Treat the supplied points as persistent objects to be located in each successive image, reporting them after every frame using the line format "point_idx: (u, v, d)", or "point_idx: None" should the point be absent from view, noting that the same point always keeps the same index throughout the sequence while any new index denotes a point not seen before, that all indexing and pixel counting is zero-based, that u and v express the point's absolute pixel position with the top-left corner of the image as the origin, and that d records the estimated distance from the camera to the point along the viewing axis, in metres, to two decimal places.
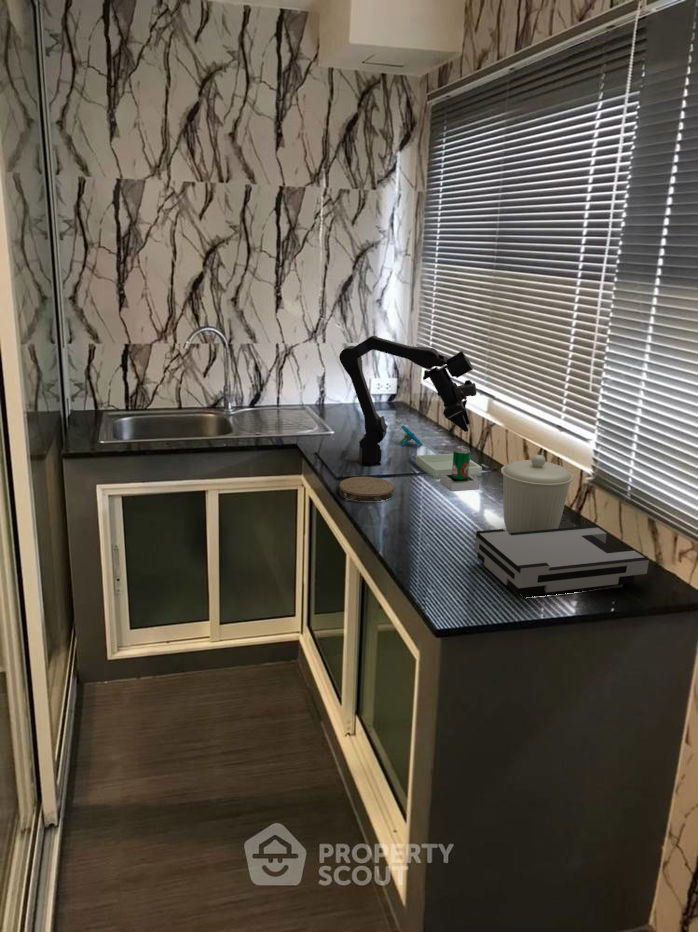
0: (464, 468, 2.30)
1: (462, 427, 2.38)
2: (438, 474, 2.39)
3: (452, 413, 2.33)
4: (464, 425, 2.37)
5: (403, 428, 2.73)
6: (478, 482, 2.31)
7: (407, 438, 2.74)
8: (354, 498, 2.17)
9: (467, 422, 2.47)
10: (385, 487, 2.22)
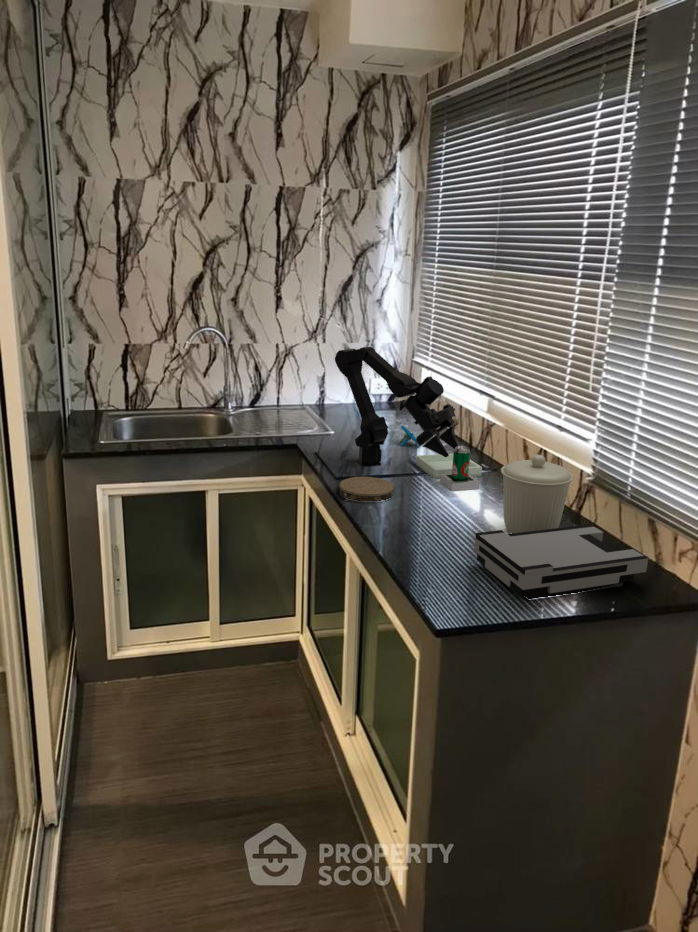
0: (464, 468, 2.30)
1: (441, 453, 2.29)
2: (438, 474, 2.39)
3: (424, 440, 2.26)
4: (443, 450, 2.28)
5: (402, 428, 2.73)
6: (478, 482, 2.31)
7: (406, 438, 2.74)
8: (354, 498, 2.17)
9: None
10: (385, 487, 2.22)
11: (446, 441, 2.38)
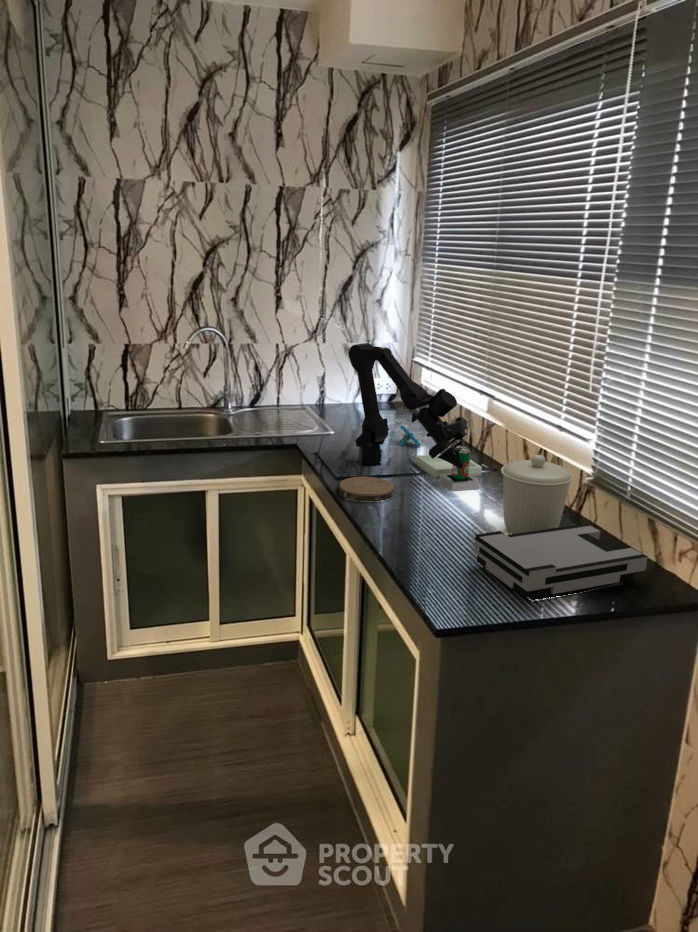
0: (464, 468, 2.30)
1: (456, 464, 2.30)
2: (438, 474, 2.39)
3: (436, 453, 2.25)
4: (457, 462, 2.29)
5: (402, 428, 2.73)
6: (478, 482, 2.31)
7: (406, 438, 2.74)
8: (354, 498, 2.17)
9: None
10: (385, 487, 2.22)
11: None
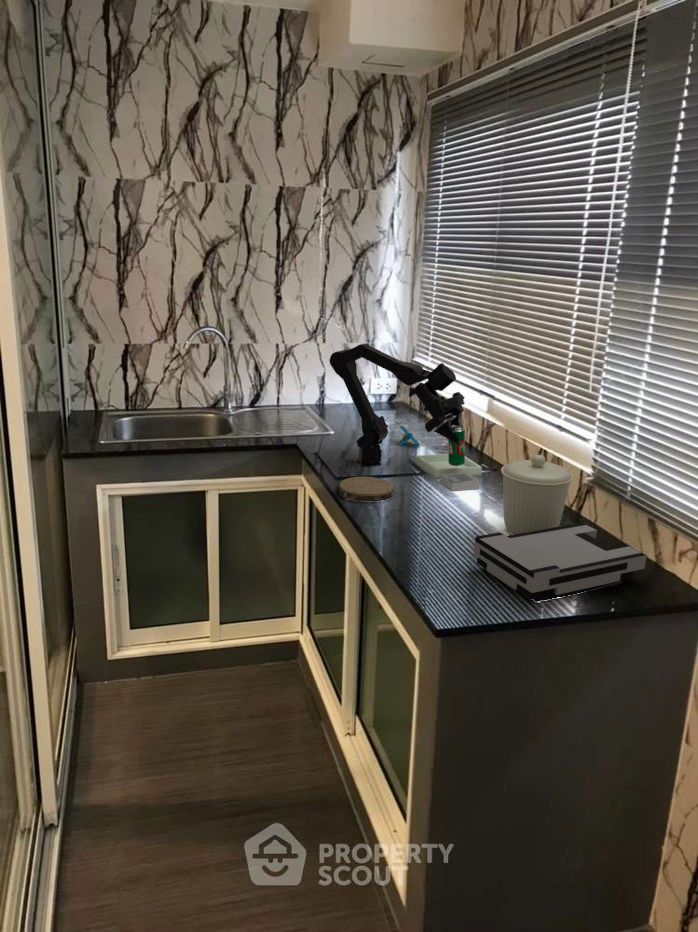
0: (459, 446, 2.34)
1: (452, 438, 2.33)
2: (438, 474, 2.39)
3: (432, 426, 2.29)
4: (453, 436, 2.33)
5: (401, 428, 2.73)
6: (478, 482, 2.31)
7: (405, 438, 2.74)
8: (354, 498, 2.17)
9: None
10: (385, 487, 2.22)
11: None
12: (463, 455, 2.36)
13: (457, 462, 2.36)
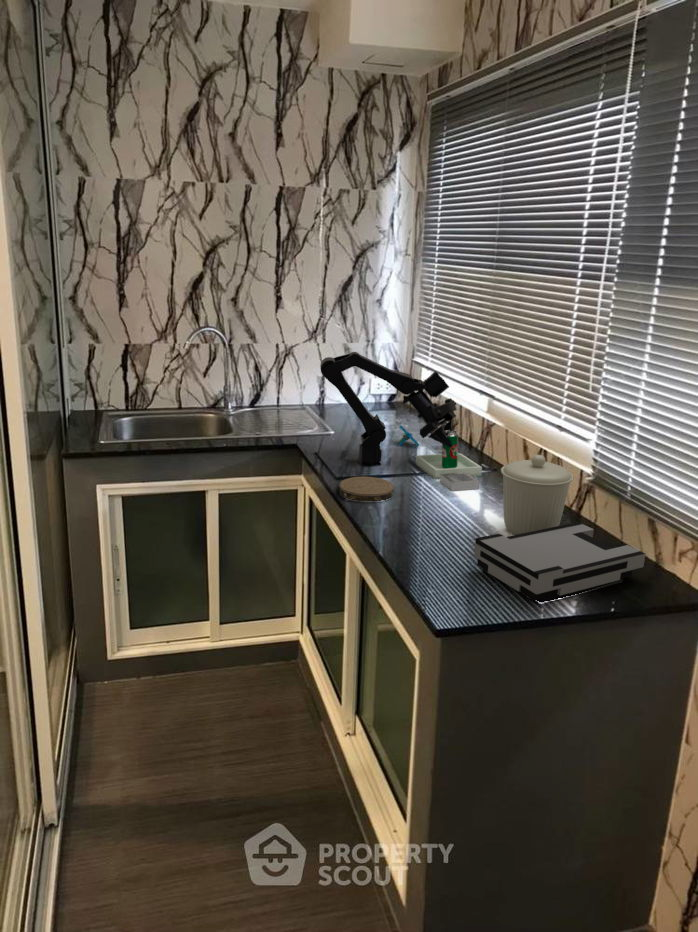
0: (452, 450, 2.45)
1: (445, 443, 2.43)
2: (438, 474, 2.39)
3: (427, 432, 2.39)
4: (447, 441, 2.43)
5: None
6: (478, 482, 2.31)
7: (404, 438, 2.74)
8: (354, 498, 2.17)
9: None
10: (385, 487, 2.22)
11: None
12: (456, 459, 2.46)
13: (450, 465, 2.46)
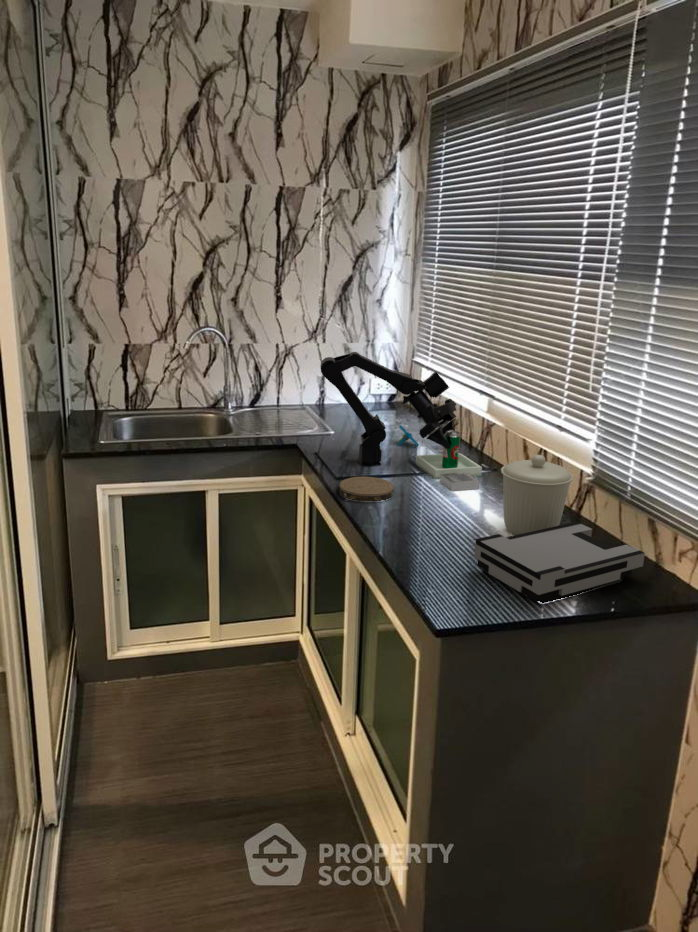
0: (453, 451, 2.44)
1: (444, 445, 2.42)
2: (438, 474, 2.39)
3: (427, 432, 2.39)
4: (445, 442, 2.42)
5: None
6: (478, 482, 2.31)
7: (404, 438, 2.74)
8: (354, 498, 2.17)
9: None
10: (385, 487, 2.22)
11: None
12: (457, 460, 2.46)
13: (450, 466, 2.46)
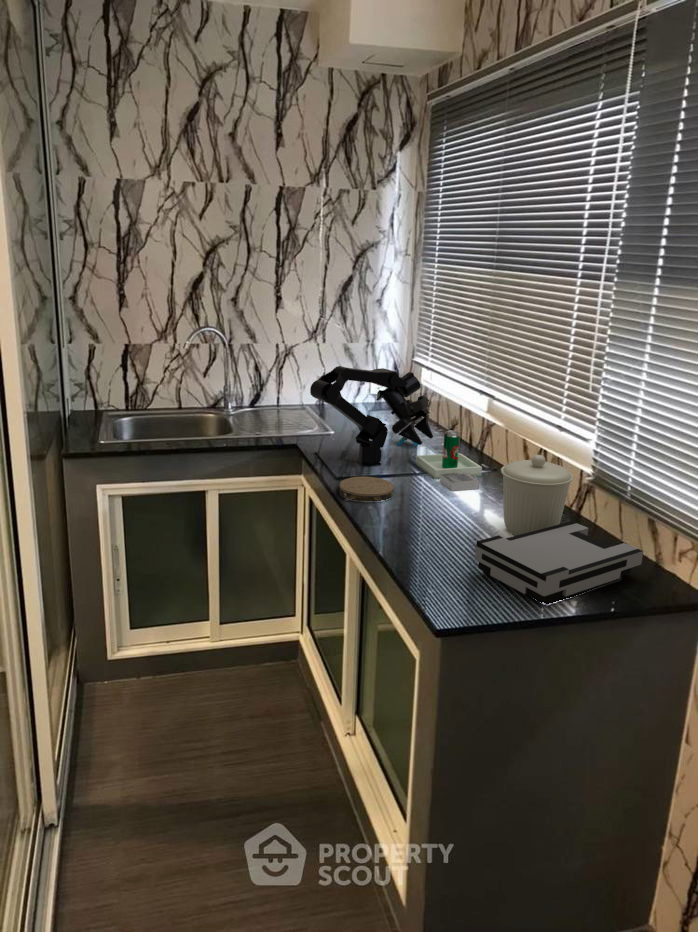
0: (453, 451, 2.44)
1: (415, 441, 2.46)
2: (438, 474, 2.39)
3: (399, 428, 2.43)
4: (416, 438, 2.45)
5: None
6: (478, 482, 2.31)
7: (403, 438, 2.74)
8: (354, 498, 2.17)
9: (430, 436, 2.54)
10: (385, 487, 2.22)
11: (421, 430, 2.55)
12: (456, 460, 2.46)
13: (450, 466, 2.46)
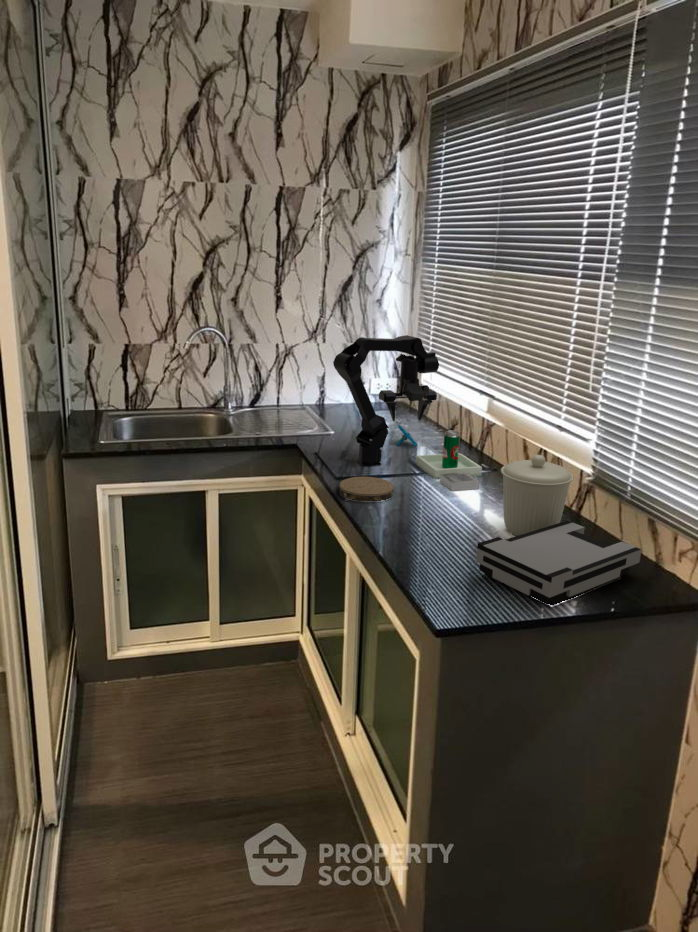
0: (453, 451, 2.44)
1: (391, 415, 2.55)
2: (438, 474, 2.39)
3: (380, 398, 2.52)
4: (392, 415, 2.54)
5: (398, 427, 2.73)
6: (478, 482, 2.31)
7: (402, 438, 2.74)
8: (354, 498, 2.17)
9: (418, 417, 2.58)
10: (385, 487, 2.22)
11: (418, 406, 2.58)
12: (456, 460, 2.46)
13: (450, 466, 2.46)
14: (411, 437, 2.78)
